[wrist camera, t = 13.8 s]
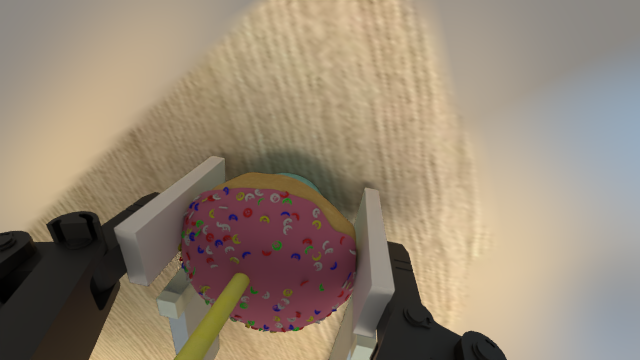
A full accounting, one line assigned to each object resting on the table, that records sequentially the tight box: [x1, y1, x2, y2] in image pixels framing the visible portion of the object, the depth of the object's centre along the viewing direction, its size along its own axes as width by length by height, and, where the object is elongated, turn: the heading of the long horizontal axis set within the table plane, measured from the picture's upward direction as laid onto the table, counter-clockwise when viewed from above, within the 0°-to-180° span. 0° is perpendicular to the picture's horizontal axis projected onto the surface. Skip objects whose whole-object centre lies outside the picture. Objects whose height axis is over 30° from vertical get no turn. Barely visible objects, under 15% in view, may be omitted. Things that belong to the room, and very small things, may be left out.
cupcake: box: [174, 172, 357, 360], centre depth 11 cm, size 9×8×12 cm
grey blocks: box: [156, 265, 377, 360], centre depth 20 cm, size 13×14×5 cm
